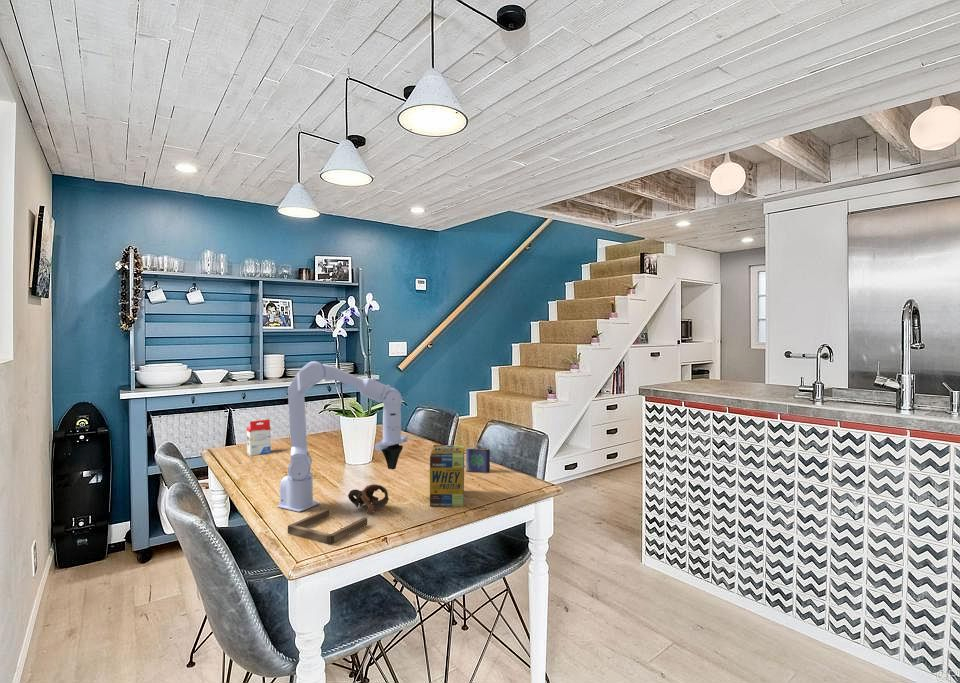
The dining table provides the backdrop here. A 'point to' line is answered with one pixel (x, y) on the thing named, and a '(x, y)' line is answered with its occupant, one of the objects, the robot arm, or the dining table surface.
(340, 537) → the walnut open-sided frame
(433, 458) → the protein box
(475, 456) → the navy clover print box
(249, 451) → the ink box
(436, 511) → the dining table surface
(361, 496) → the dark brown curved piece
